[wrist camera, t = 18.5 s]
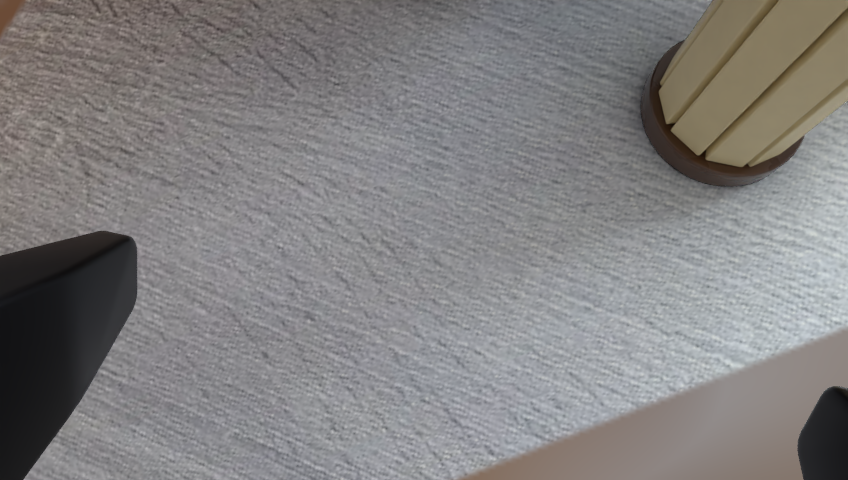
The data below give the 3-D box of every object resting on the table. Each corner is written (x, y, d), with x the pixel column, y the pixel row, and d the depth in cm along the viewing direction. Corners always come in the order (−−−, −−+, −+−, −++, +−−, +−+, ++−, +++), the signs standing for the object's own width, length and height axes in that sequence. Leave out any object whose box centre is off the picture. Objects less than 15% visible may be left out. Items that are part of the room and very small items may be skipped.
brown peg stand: (788, 202, 25) (885, 139, 20) (631, 168, 25) (689, 97, 20) (796, 65, 26) (886, -23, 22) (649, 34, 26) (706, -61, 22)
